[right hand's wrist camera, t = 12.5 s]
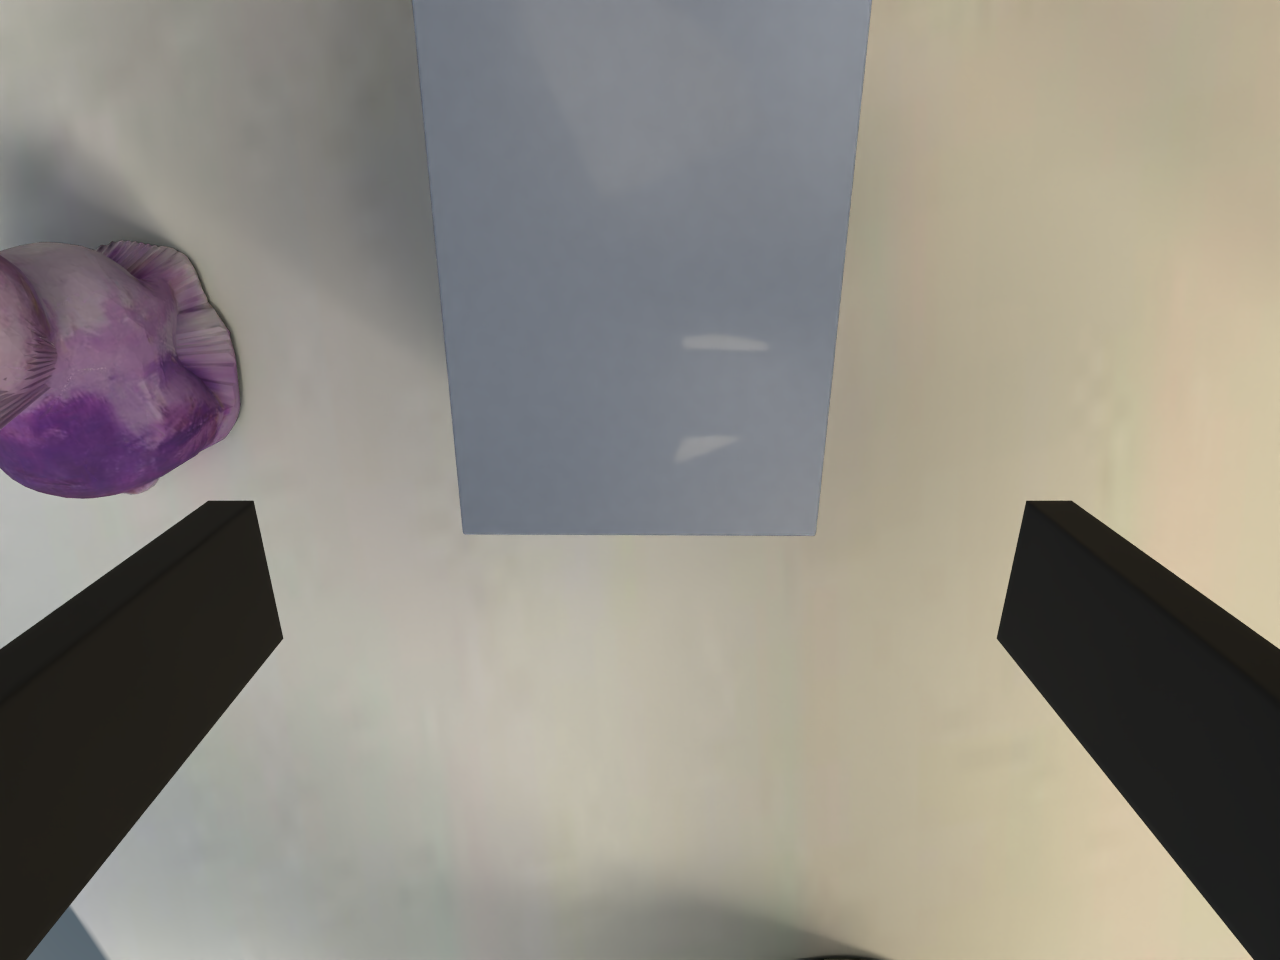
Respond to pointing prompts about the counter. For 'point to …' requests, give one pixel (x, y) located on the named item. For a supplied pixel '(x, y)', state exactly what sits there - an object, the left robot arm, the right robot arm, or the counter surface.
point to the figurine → (108, 367)
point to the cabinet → (640, 255)
